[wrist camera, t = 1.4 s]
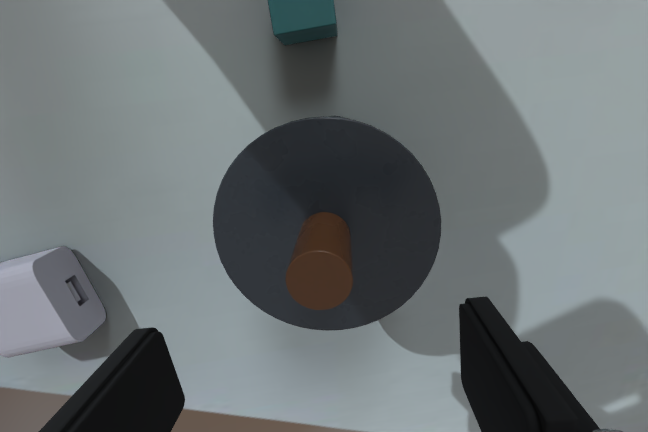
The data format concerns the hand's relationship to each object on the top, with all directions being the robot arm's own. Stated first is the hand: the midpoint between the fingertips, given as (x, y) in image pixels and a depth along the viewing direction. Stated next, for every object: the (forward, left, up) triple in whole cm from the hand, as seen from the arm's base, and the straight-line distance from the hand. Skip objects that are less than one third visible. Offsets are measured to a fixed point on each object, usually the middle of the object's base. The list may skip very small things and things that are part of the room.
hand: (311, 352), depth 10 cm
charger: (+22, -28, -22) cm, 42 cm away
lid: (0, 0, -9) cm, 9 cm away
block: (-13, -6, -22) cm, 26 cm away
